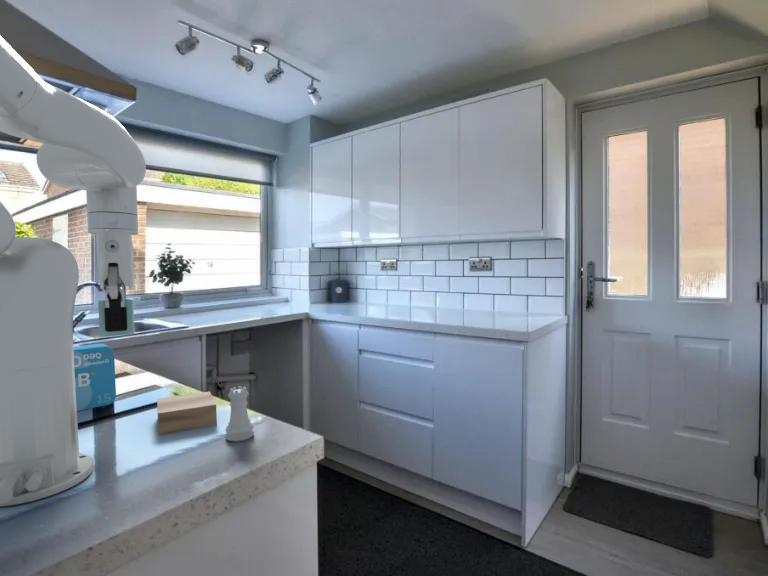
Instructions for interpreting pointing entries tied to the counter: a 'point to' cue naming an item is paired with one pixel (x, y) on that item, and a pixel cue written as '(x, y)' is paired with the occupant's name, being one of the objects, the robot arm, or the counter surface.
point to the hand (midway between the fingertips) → (117, 327)
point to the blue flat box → (94, 376)
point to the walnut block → (186, 412)
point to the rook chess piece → (238, 417)
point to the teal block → (129, 319)
